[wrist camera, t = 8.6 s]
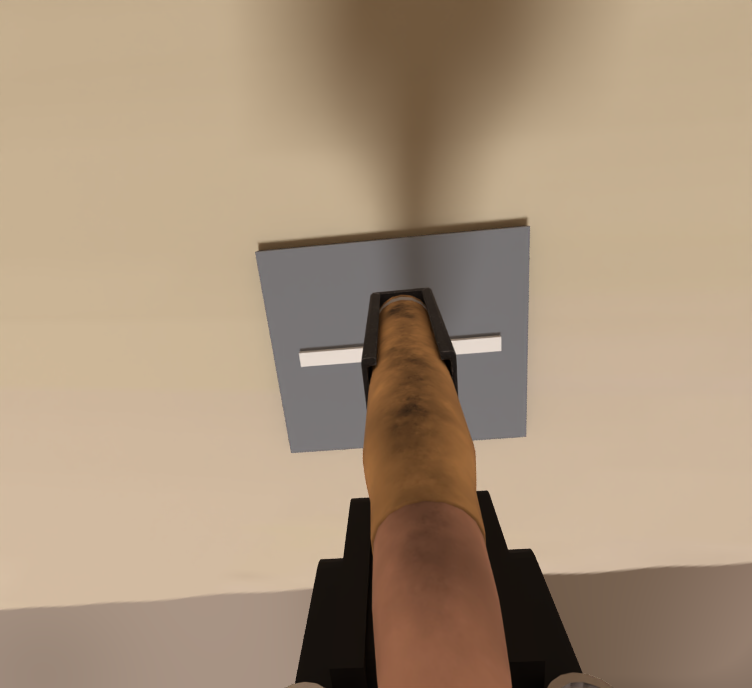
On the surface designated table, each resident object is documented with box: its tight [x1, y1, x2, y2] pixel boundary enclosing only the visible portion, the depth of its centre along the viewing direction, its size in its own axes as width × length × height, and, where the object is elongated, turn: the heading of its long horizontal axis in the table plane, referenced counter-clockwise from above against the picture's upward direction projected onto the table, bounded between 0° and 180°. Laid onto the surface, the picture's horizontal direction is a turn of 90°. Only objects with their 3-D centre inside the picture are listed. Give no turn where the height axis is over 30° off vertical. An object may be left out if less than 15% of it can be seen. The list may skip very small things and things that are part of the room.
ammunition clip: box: [361, 287, 512, 688], centre depth 9 cm, size 11×2×12 cm, turn 6°
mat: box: [255, 226, 530, 453], centre depth 24 cm, size 14×12×1 cm
